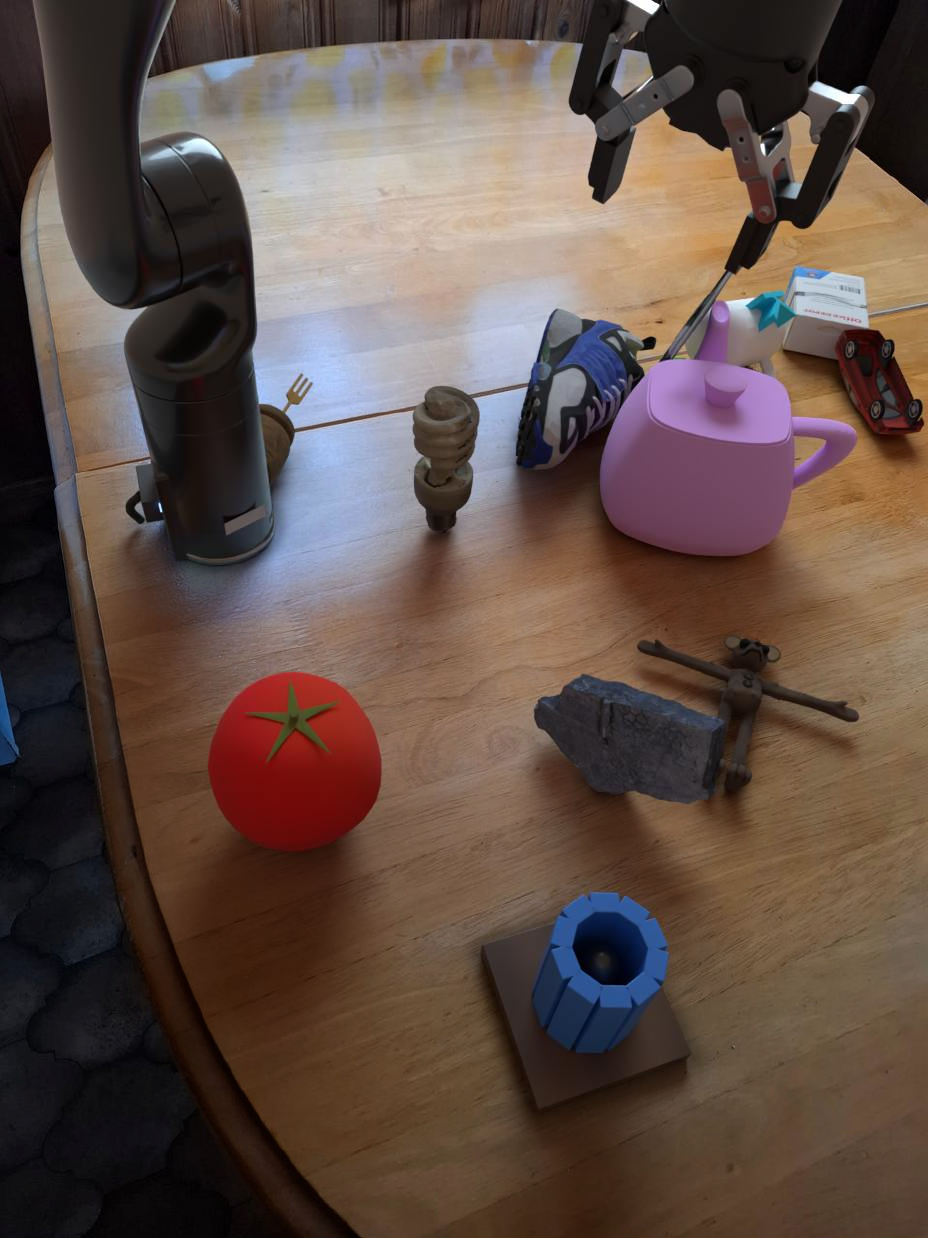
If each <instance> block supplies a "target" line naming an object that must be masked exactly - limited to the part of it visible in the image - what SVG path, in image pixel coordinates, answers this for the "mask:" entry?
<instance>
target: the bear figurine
mask: <svg viewBox="0 0 928 1238" xmlns="http://www.w3.org/2000/svg"><path fill="white" fill-rule="evenodd" d="M723 645H724V647H725V648H726V649H727V650H729V651H732V653H731V661H732V662H731V663H732V664H733V666H734V667H735V668H727V667H725V666H723V665H721V664H720V663H714V662H713V661H707V660H702V659H700V658H697V657H694V656H692V655H689V654H686V653H684V652H681V651H678V650H675V649H672V648H670V647H668V646H666V645H665V644H664V643H663V642H662V641H661V640H660V639H658V638H655V639H654V642H652V641H649V640H645V639H642V640H640V641H639V642H637V645H636V648H637V650H638V652H640V653H641V654H643V655H646V656H650V657H653V658H657V659H661V660H665V661H668V662H672V663H675V664H677V665H680V666H683V667H685V668H688V669H690V670H692V671H696V672H698V673H700V674H701V673H702V674H703V675H707V676H708V677H710V678H711V677H712V678H714V679H717V680H720V681H722V682H725V688H724V690H723V693H722V695H721V697H720V705H719V708H718V712H717V716H716V718H718V719H721V720H723V721H725V723H726V735H727V733H728V730H729V726H730V721H731V717H732V715H734V716H736V717H739V718H740V717H741V720H740V724H739V727H738V728H739V729H738V732H737V736H736V740H735V745H734V749H733V752H732V756H731V760H730V764H729V766H728V767H727V763H726V761H725V759H724V758H721V761H720V764H719V767H718V770H717V772H716V777H715V779H716V781H717V780H718V779H719V778H720V777H721V776H722V775H723V774H724V773H725V771H726V773H725V778H724V782H723V787H724V788H725V789H726V790H728V791H730V792H734V793H738V792H739V791H740V790H741V789H742V788H744V787H745V786H748V785H749V784H750V783H751V781H752V779H753V772H752V770H751V769H749V768H746V767H747V765H746V762H747V761H746V760H747V756H748V752H749V749H750V748H749V747H750V745H751V739H752V734H753V730H754V726H755V722H756V717H757V714H758V711H759V709H760V707H761V704H762V698H763V695H765V696H768V697H769V698H770V697H771V698H772V699H775V700H777V701H782V702H783V701H784V702H788V703H791V704H795V705H799V706H802V707H804V708H809V709H812V710H815V711H818V712H821V713H824V714H827V715H828V716H831V717H834V718H836V719H838V720H841V721H844V722H846V723H856V722H858V721H859V719H860V715H859V712H858V711H857V710H856V709H854V708H852V707H848V706H847V705H848V704H849V703H848V701H846V700H839V701H838V700H837V701H833V700H832V701H831V700H826V699H822V698H819V697H816V696H813V695H810V694H807V693H805V692H801V691H796V690H793V689H791V688H788V687H786V686H783V685H780V683H779V682H776V681H765V680H764V679H763V677H761V676H760V675H759V673H761V672H762V671H763V670H764V669H765V668H766V667H767V665H768V663H770V664H774V663H777V662H778V661H779V660H781V657H782V652H781V650H780V649H779V648H778V647H777V646H775V645H772V644H765V643H764V644H763V643H762V642H761V641H758V640H755V639H749V638H746V637H740V636H739V635H735V634H730V635H727V636H726V637H724V639H723ZM726 738H727V736H726V737H725V739H726ZM725 744H726V740H725V741H724V745H725Z"/></svg>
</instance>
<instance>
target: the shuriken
mask: <svg viewBox="0 0 928 1238" xmlns="http://www.w3.org/2000/svg"><path fill="white" fill-rule="evenodd" d="M732 275H734V274H733V273H731V272H729V271H727V270H724V273H723V274H722V275H721V277H720V278H719V280H718V281H717V283H715V285H714V287H713V288H712V289H711V291H710V292H709V293H708V294H707V295H706V296H705V297H704V298H703V299H702V301H700V304H698V305H697V307H696V308H695V309H694V311H693V312H692V314H691V315H690V316H689V318H688V319H687V321H686V322H685V323H684V325H683V326H682V328H681V329H680V330H679V332H678V333H677V335H676V336H675V338H674V339H673V341H672V342H671V344H670V345H669V346H668V348H667V349H666V351H665V352H664V354H663V357H662V358H661V357H660V358H661V360H660V359H659V361H658V362H657V363H659V362H662V361H666V360H669V361H670V360H673V358H674V357H677V355H678V353H679V352H680V350H681V349H682V348H683V347H684V346H685V342H686V341H687V340H688V338H689V337H690V336H691V334H692V333H693V332H694V330H695V329H696V327H697V326H698V325H699V323H700V322H701V320H702V319H703V318H704V316H705V315H706V314H707V312H708V311H709V310H710V308H711V307H712V305H713V304H714V302H716V301H717V298H718V297H719V295H720V293H721V292H722V290H723V289H724V287H725V285H726V284H727V282H728V281H729V279H730V278H731V277H732Z"/></svg>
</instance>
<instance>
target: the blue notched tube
mask: <svg viewBox="0 0 928 1238" xmlns="http://www.w3.org/2000/svg"><path fill="white" fill-rule="evenodd" d="M650 915H651V912H650V911H649V910H648V909H646V908H645V907H644V906H642V905H641V904H639V903H637V902H636V901H634V900H633V899H632V898H631V897H628V896H627V895H624V896H623V897H622V899H620V894H619V893H618V892H597V891H596V892H595V891H594V892H593V891H591V892H589V894H588V896H586V895H585V894H581V895H580V896H579V897H577V898H576V899H574V900H573V901H571V903H569V904H568V905H566V906H564V907H563V908H562V909H561V911H560V914H559V915H557V916H556V919H555V921H554V922H555V924H554V927H553V930H552V933H551V935H550V938H549V941H548V943H547V946H546V949H545V952H544V954H543V957H542V960H541V963H540V965H539V968H538V972H537V975H536V979H535V983H534V987H533V990H532V994H533V995H534V997H533V1000H532V1002H533V1004H534V1007H535V1010H536V1013H537V1016H538V1018H539V1021H540V1024H541V1026H542V1027H545V1026H548V1025H549V1027H548V1029H547V1031H546V1033H547V1034H548V1035H549V1036H551V1037H552V1038H553V1039H555V1040H556V1041H557V1042H559V1043H560V1044H561V1045H563V1046H564V1047H565V1048H567V1049H568V1050H570V1049H571V1047H572V1046H573V1044H574V1043H575V1052H576V1053H603V1052H604V1050H605V1049H606V1048H607V1050H608V1051H610V1050H611V1049H612V1048H613V1047H615V1046H616V1045H617V1044H618V1043H619V1042H621V1041H622V1040H623V1039H624V1038H625V1037H627V1036H628V1035H629V1034H630V1032H631V1031H632V1029H633V1028H634V1026H635V1025H636V1023H637V1022H638V1020H639V1019H640V1018H641V1016H642V1015H643V1013H644V1012H645V1010H646V1009H647V1007H648V1006H649V1005H650V1003H651V1002H652V1000H653V999H654V997H655V996H656V994H657V993H658V991H659V990H660V988H661V987H662V986H663V984H664V983H665V981H666V977H667V970H668V964H669V958H670V953H669V952H668V951H667V949H668V948H669V944H668V941H667V939H666V937H665V935H664V934H663V931H662V929H661V927H660V925H659V922H658V921H657V918H656V917H653V918H649V917H650ZM648 918H649V919H648ZM594 945H606V946H608V947H610V948H611V949H612V950H613V951H614V952H615V953H616V954H617V956H618V959H619V962H620V970H619V973H618V976H617V977H616V979H615V981H614V983H613V985H601V984H600V983H598V982H597V981H596V980H594V979H593V978H591V977H590V976H589V975H587V974H586V973H584V972H583V971H582V970H581V968H580V966H579V963H580V961H581V959H582V956H583V954H584V953H585V951H586V950H587V949H588V948H590V947H591V946H594Z"/></svg>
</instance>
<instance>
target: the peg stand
mask: <svg viewBox="0 0 928 1238" xmlns="http://www.w3.org/2000/svg"><path fill="white" fill-rule="evenodd" d="M555 922H556V921H554V922H550V923H548V924H544V925H540V926H538V927H534V928H531V929H528V930H524V931H521V932H517V933H515V934H512V935H508V936H505V937H501V938H497V939H495V940H491V941H489V942H485V943H482V945H481V949H480V953H481V956H482V959H483V962H484V965H485V967H486V970H487V974H488V977H489V979H490V983H491V986H492V989H493V991H494V994H495V997H496V1000H497V1003H498V1006H499V1009H500V1012H501V1015H502V1019H503V1021H504V1024H505V1026H506V1030H507V1034H508V1036H509V1039H510V1042H511V1045H512V1047H513V1050H514V1053H515V1056H516V1059H517V1063H518V1065H519V1068H520V1071H521V1074H522V1077H523V1080H524V1082H525V1085H526V1089H527V1091H528V1095H529V1098H530V1101H531V1104H532V1106H533V1109H534V1112H535V1114H537V1115H538V1114H539V1113H540V1114H541V1113H543V1112H545V1111H548V1110H551V1109H554V1108H556V1107H560V1106H562V1105H564V1104H565V1105H566V1104H567V1103H570V1102H573V1101H576V1100H578V1099H581V1098H584V1097H587V1096H589V1095H592V1094H596V1093H598V1092H601V1091H603V1090H606V1089H609V1088H612V1087H614V1086H617V1085H620V1084H623V1083H625V1082H626V1083H627V1082H628V1081H631V1080H634V1079H636V1078H639V1077H642V1076H644V1075H648V1074H650V1073H653V1072H656V1071H659V1070H661V1069H664V1068H667V1067H670V1066H672V1065H675V1064H678V1063H680V1062H684V1061H687V1060H688V1059H689V1058H690V1056H691V1055H692V1052H691V1049H690V1047H689V1044H688V1043H687V1040H686V1038H685V1036H684V1034H683V1031H682V1029H681V1027H680V1024H679V1023H678V1020H677V1018H676V1016H675V1014H674V1011H673V1010H672V1007H671V1005H670V1003H669V1000H668V998H667V995H666V994H665V992H664V989H663V987H662V986H661V988H660V990H659V991H658V993H657V994H656V996H655V997H654V999H653V1000H652V1002H651V1003H650V1005H649V1006H648V1007H647V1009H646V1010H645V1012H644V1013H643V1015H642V1016H641V1018H640V1019H639V1020H638V1022H637V1023H636V1025H635V1026H634V1028H633V1029H632V1031H631V1032H630V1034H629V1035H628V1036H627V1037H625V1038H624V1039H623V1040H622V1041H621V1042H619V1043H618V1044H617V1045H616V1046H615V1047H613V1048H612V1049H611V1050H610V1051H608V1050H607V1048H606V1049H605V1050H604V1052H603V1053H576V1052H575V1043H574V1044H573V1046H572V1047H571V1049H570V1050H568V1049H567V1048H565V1047H564V1046H563V1045H561V1044H560V1043H559V1042H557V1041H556V1040H555V1039H553V1038H552V1037H551V1036H549V1035H548V1034H547V1033H546V1031H547V1029H548V1027H549V1025H548V1026H545V1027H542V1026H541V1024H540V1021H539V1018H538V1016H537V1013H536V1010H535V1007H534V1004H533V1002H532V1000H533V997H534V995H533V994H532V990H533V987H534V983H535V979H536V975H537V972H538V968H539V965H540V963H541V960H542V957H543V954H544V952H545V949H546V946H547V943H548V941H549V938H550V935H551V933H552V930H553V927H554V924H555ZM579 966H580V968H581V970H582V971H583V972H584V973H586V974H587V975H589V976H590V977H591V978H593V979H594V980H596V981H597V982H598V983H600V984H601V985H613V983H614V981H615V979H616V977H617V976H618V973H619V970H620V962H619V959H618V956H617V954H616V953H615V952H614V951H613V950H612V949H611V948H610V947H608V946H606V945H594V946H591V947H590V948H588V949H587V950H586V951H585V953H584V954H583V956H582V959H581V961H580V963H579Z"/></svg>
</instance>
